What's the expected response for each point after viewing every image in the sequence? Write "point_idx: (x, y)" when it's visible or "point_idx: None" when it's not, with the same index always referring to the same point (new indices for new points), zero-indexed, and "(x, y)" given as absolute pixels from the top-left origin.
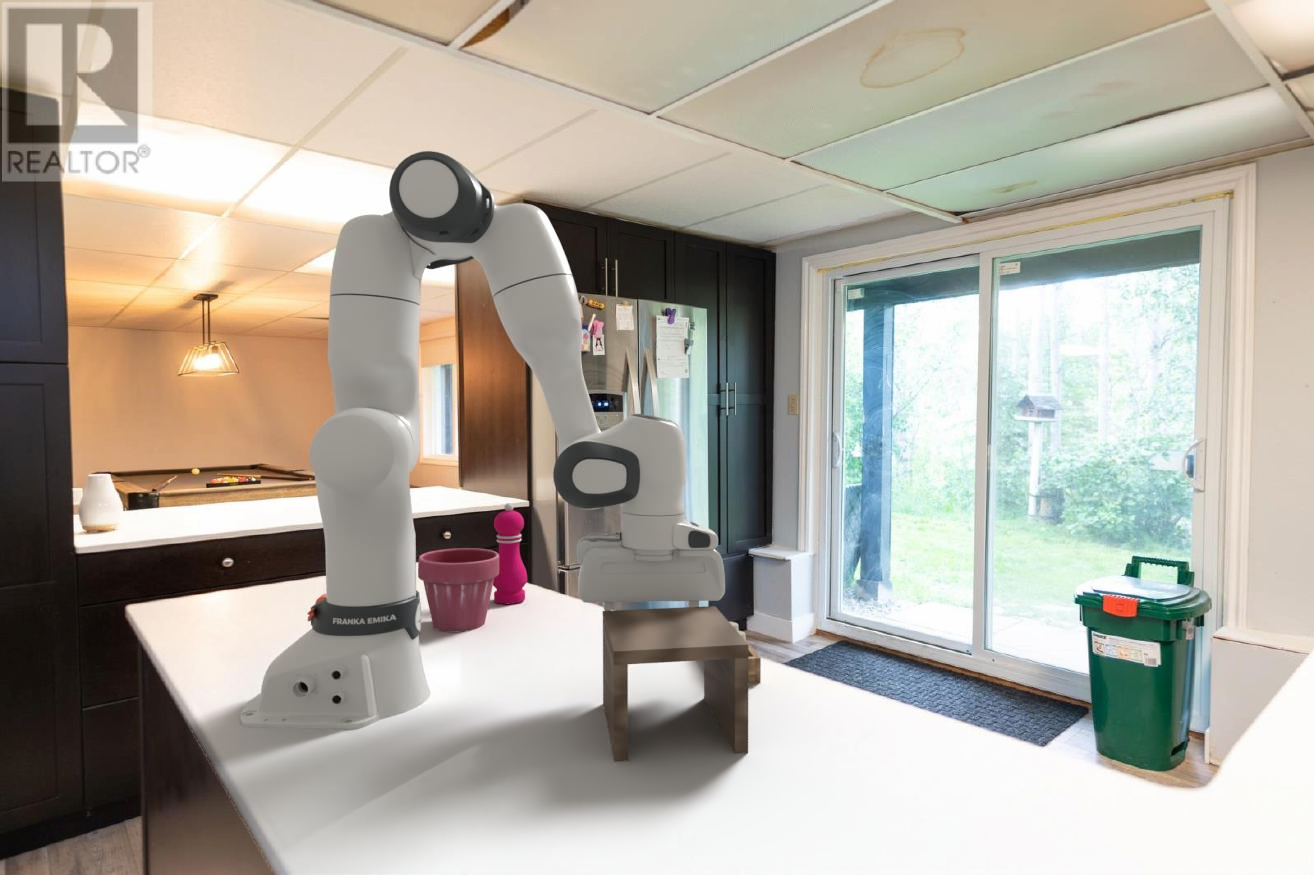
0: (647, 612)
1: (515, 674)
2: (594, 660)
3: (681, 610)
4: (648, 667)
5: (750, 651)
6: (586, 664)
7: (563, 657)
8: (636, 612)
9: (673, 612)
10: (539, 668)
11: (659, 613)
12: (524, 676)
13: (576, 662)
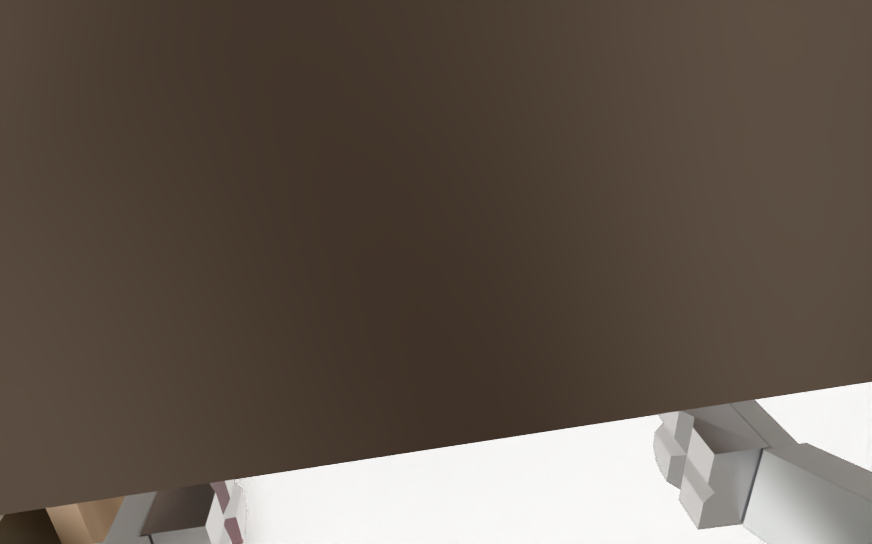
0: (696, 244)
1: (863, 404)
2: (590, 519)
3: (54, 351)
4: (402, 474)
5: None
6: (622, 488)
7: (685, 534)
8: (861, 249)
9: (212, 215)
10: None
11: (503, 166)
12: (841, 390)
13: (652, 501)
